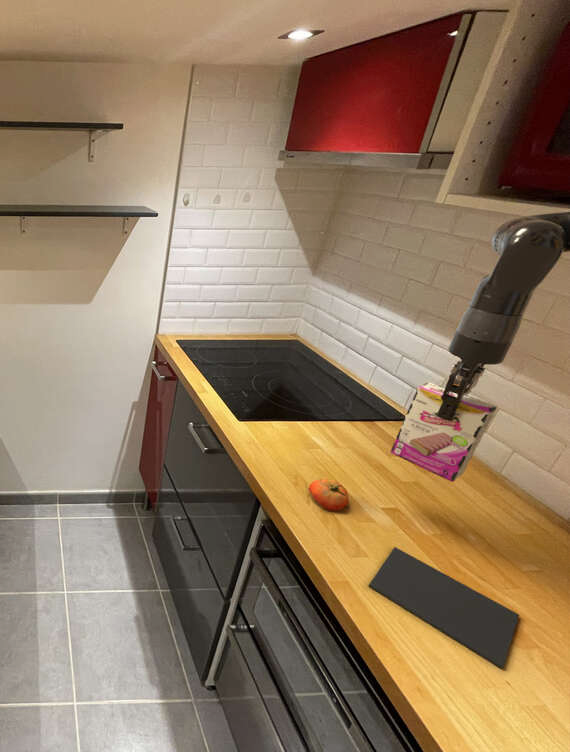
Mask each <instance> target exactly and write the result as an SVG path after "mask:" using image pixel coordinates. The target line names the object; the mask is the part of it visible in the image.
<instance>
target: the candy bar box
mask: <svg viewBox="0 0 570 752" xmlns="http://www.w3.org/2000/svg"><path fill="white" fill-rule="evenodd" d="M444 390H445V387H444V386H440V385H438V384H436V383H432V382H430V381H427V382H426V383H424V384H422V385H420V386H418V387H417V388H416V391H415V392H414V395H413V397H412V401H411V403H410V404H409V407H408V409H407V412H406V414H405V417H404V419H403V421H402V424H401V426H400V428H399V431H398V433H397V435H396V438H395V440H394V442H393V444H392V446H391V449H390V454H392V455H394V456H395V457H398V458H401V459H403V460H405V461H407V462H409V463H411V464H413V465H415V466H418V467H420V468H422V469H424V470H426V471H428V472H430V473H432V474H433V475H436V476H438V477H441V478H443V479H445V480H447V481H449V482H451V483H454V482H455V481H456V480H457V479H458V478H460V477H461V476H463V475H464V473H465V471H466V469H467V467H468V465H469V463H470V461H471V460H472V458H473V456H474V454H475V451H476V449H477V448H478V446H479V444H480V443H481V440H482V439H483V437H484V435H485V433H486V431H487V429H488V427H489V425H490V423H491V421H492V420H493V417H495V416H494V415H495V413H496V412H497V410H498V405H495V404H493V403H489V402H486V401H483V400H480V399H478V398H475V397H473V396H469V395H468V394H467V395H464V397H463V399H462V400H461V401H462V402H461V403H460V404H459V405H458V408H457V410H456V412H455V414H454V416H453V418H452V420H450V421H448V420H445V419H442V418H439V417H438V416H437V413H438V411H439V409H440V407H441V404H442V402H443V400H441V396H442V395H443V393H444ZM449 395H451V396H454V397H457V396H458V395H457V394H456V393H453V392H450V394H449Z"/></svg>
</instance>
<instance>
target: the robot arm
mask: <svg viewBox="0 0 570 752" xmlns="http://www.w3.org/2000/svg"><path fill="white" fill-rule="evenodd" d="M490 244H491V248H492V249H493V251H494V252H495V253H496V254H497V255H498V256H499V258H498V260H497V262H496V263H495V265H494V267H493V269H492V271H491V273H490V274H487V275H485V276H484V277H482V278H481V280H480V281H479V283H478V284H477V286H476V288H475V290H474V293H473V295H472V298H471V300H470V302H469V305H468V306H467V308H466V309H465V311H464V313H463V315H462V317H461V319H460V321H459V324H458V325H457V328H456V330H455V332H454V335H453V337H452V340H451V342H450V344H449V346H448V352H449V353H450V354H451V355H453V357H457V358H459V359H460V360H458V361H457V362H456V364H453V366H452V367H451V369H450V374H449V375H448V379H447V381H446V382H445V387H444V388H445V390H444V393H443V395H442V396H441V400H443V402H442V404H441V407H440V409H439V411H438V413H437V416H438V417H439V418H442V419H445V420H448V421H450V420H452V418H453V416H454V414H455V412H456V410H457V408H458V405H459V404H460V403H461V402H462V401H461V400H462V399H463V397H464V395H467V396H468V395H470V394H471V393H472V389H473V388H475V387H476V386H477V384H478V383H479V381H480V379H481V377H483V375H484V373H485V371H486V367H485V366H486V365H489V366H490V365H491V366H493V365H494V366H495V365H500V364H502V363H503V362H504V360H505V359H506V356H507V355H508V352H509V349H511V346H512V345H513V342H514V341H515V338H516V336H517V334H518V332H519V330H520V327H521V324H522V320H523V318H524V314H525V313H526V311H527V308H528V306H529V304H530V302H531V300H532V298H533V296H534V293H535V291H536V290H537V288H538V287H539V286H540V285H541V284H542V283H543V281H544V280H545V279H546V278H547V277H548V275H549V274H550V273H551V271H552V270H553V269H554V267H555V266H556V265H557V264H558V262H559V260H560V259H561V257H562V255H563V254H564V253H570V211H561V212H551V213H550V212H549V213H540V214H533V215H526V216H521V217H517V218H514V219H511V220H509V221H507V222H504V223H503V224H501V225H500V226H499V227H498V228H497V229H496V230H495V231H494V232H493V234H492V236H491V239H490ZM450 392H453V393H456V394H457V395H458V396H457V397H454V396H451V395H449V394H450Z"/></svg>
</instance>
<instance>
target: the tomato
mask: <svg viewBox="0 0 570 752" xmlns="http://www.w3.org/2000/svg"><path fill="white" fill-rule="evenodd" d="M307 490H308V491H309V493H310V495H311V496H312V498H313V499H315V501H316V503H318V504H319V505H321V506H322V507H323V508H324V509H325V510H326V511H328V512H336V511H340V510H342V509H345V508H346V507H347V506H348V505H349V504H350V501H349V494H348V490H347V489H346V488H345V486H344V485H342V484H341V483H340V482H338V481H336V480H334V479H325V478H322V479H320V478H319V479H317V480H314V481H312V482H311V483H310V485H309V487H308V488H307Z"/></svg>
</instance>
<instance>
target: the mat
mask: <svg viewBox="0 0 570 752" xmlns="http://www.w3.org/2000/svg"><path fill="white" fill-rule="evenodd" d="M368 588H370V589H372V590H373V591H375V592H376V593H378V594H380V595H381V596H383V597H384V598H386V599H388V600H390V601H391V602H393V603H394V604H396V605H397V606H399V607H401V608H402V609H404V610H406V611H407V612H409V614H412V615H413V616H415V617H417V618H418V619H420V620H421V621H423V622H425V623H427V624H428V625H429V626H431V627H433V628H434V629H436V630H438V631H439V632H441V633H443V634H444V635H446V636H447V637H449V638H450V639H452V640H454V641H456V642H457V643H458V644H460V645H462V646H464V647H465V648H467V649H469V650H470V651H471V652H473V653H474V654H476V655H477V656H479V657H481V658H483V659H484V660H486V661H488V662H489V663H491V664H492V665H494V666H496V667H498V668H499V669H500V670H503V668H504V666H505V664H506V660H507V657H508V654H509V650H510V646H511V644H512V641H513V637H514V633H515V631H516V627H517V623H518V620H519V617H520V614H519V613H518V612H515V611H514V610H512V609H510V608H508V607H506V606H505V605H503V604H500V603H499V602H497V601H495V600H493V599H491V598H490V597H488V596H486V595H484V594H483V593H481V592H479V591H477V590H475V589H473V588H471V587H469V586H467V585H466V584H464V583H462V582H461V581H458V580H456V579H455V578H453V577H452V576H449V575H447V574H445V573H444V572H442V571H440V570H438V569H437V568H435V567H433V566H431V565H429V564H428V563H426V562H424V561H422V560H419V559H418V558H416V557H414V556H413V555H411V554H409V553H407V552H405V551H403V550H402V549H400V548H398V547H397V546H394V547H393V548H392V550H391V552H390V553H389V554H388V556H387V557H386V558H385V560H384V562H383V563H382V565H381V566H380V568H379V569H378V571H377V572H376V573H375V575H374V577H373V578H372V579H371V580H370V582H369V584H368Z"/></svg>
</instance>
